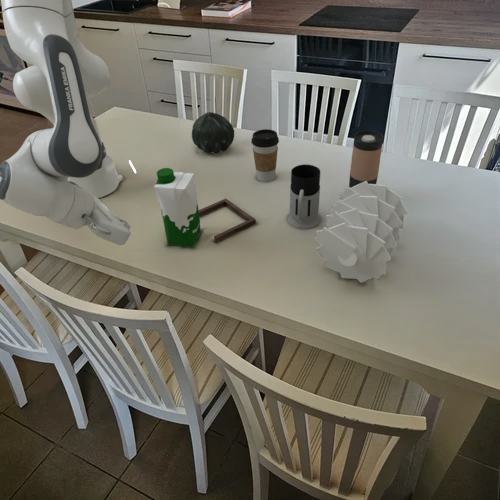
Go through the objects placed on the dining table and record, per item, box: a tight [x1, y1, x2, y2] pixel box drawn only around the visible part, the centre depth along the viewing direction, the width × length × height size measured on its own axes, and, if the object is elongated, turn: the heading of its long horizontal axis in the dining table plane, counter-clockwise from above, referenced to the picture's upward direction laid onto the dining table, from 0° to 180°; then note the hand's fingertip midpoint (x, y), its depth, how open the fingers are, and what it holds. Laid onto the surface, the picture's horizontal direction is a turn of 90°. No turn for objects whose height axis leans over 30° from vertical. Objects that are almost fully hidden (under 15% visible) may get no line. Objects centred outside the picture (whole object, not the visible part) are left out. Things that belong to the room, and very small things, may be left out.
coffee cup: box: [250, 128, 280, 183], centre depth 139 cm, size 8×8×15 cm
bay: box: [198, 198, 257, 243], centre depth 125 cm, size 14×13×2 cm
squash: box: [191, 111, 235, 155], centre depth 157 cm, size 14×15×15 cm
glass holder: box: [287, 164, 321, 229], centre depth 118 cm, size 9×14×15 cm, turn 167°
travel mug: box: [348, 130, 384, 188], centre depth 125 cm, size 8×8×20 cm
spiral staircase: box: [314, 181, 409, 284], centre depth 106 cm, size 18×18×25 cm
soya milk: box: [153, 167, 202, 248], centre depth 114 cm, size 9×9×20 cm
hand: (126, 226), depth 107 cm, fingers closed
